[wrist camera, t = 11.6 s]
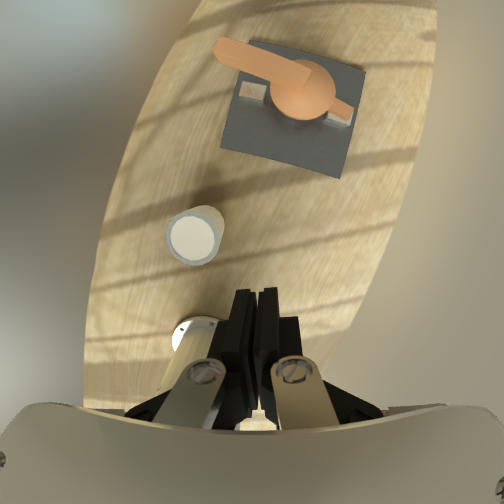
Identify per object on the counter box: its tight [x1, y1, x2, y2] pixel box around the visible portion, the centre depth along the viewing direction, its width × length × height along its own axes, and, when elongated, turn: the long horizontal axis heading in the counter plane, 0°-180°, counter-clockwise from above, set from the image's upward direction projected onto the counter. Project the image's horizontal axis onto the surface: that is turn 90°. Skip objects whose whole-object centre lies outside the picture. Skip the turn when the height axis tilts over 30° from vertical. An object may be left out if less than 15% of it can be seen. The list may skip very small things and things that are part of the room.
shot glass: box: [165, 205, 225, 266], centre depth 35 cm, size 7×7×7 cm
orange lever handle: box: [212, 36, 354, 121], centre depth 21 cm, size 14×6×6 cm, turn 66°
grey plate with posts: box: [220, 40, 366, 179], centre depth 28 cm, size 16×16×8 cm
